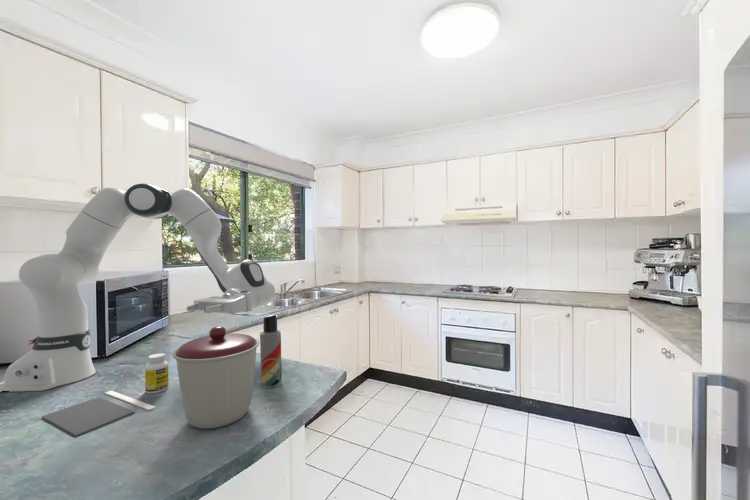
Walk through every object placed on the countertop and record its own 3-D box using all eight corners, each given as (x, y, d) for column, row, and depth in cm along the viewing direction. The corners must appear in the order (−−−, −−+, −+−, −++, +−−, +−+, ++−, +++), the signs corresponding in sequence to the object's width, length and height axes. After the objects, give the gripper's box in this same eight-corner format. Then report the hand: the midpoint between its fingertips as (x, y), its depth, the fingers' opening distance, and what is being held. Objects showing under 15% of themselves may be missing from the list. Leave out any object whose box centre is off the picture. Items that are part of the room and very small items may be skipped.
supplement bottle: (157, 395, 87) (156, 359, 87) (140, 393, 88) (139, 358, 88) (173, 386, 93) (172, 352, 93) (157, 385, 94) (156, 351, 94)
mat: (41, 417, 76) (41, 416, 76) (98, 398, 86) (98, 396, 86) (75, 436, 68) (75, 435, 68) (134, 413, 78) (134, 411, 78)
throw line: (104, 393, 89) (104, 392, 89) (111, 391, 90) (111, 390, 90) (149, 410, 79) (149, 409, 79) (155, 408, 80) (155, 406, 80)
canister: (199, 450, 62) (197, 341, 62) (159, 423, 73) (157, 330, 73) (276, 411, 77) (274, 323, 77) (233, 393, 88) (232, 315, 88)
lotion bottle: (273, 389, 89) (272, 317, 89) (256, 387, 91) (255, 316, 91) (285, 381, 94) (284, 313, 94) (269, 379, 96) (268, 312, 96)
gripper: (215, 291, 118) (177, 298, 106) (253, 292, 108) (215, 301, 96) (217, 308, 118) (179, 317, 106) (255, 311, 108) (217, 322, 96)
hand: (196, 309), depth 101 cm, fingers open, 8 cm apart
